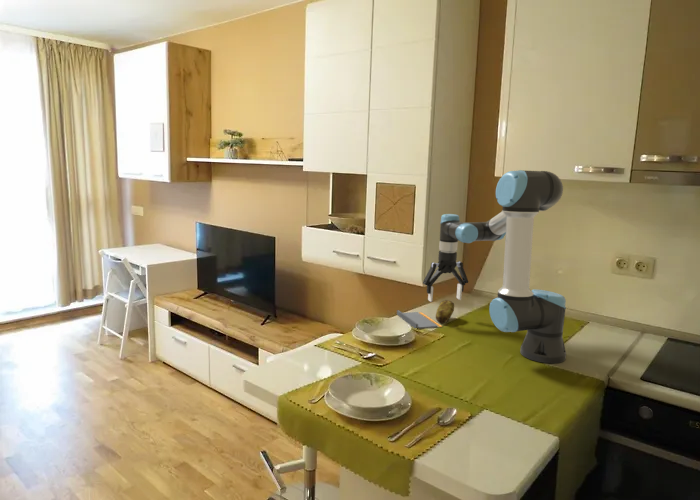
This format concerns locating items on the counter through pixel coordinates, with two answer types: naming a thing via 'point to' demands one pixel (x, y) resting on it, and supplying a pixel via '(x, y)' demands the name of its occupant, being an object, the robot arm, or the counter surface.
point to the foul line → (430, 319)
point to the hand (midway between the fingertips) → (444, 300)
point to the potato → (444, 311)
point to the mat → (416, 320)
